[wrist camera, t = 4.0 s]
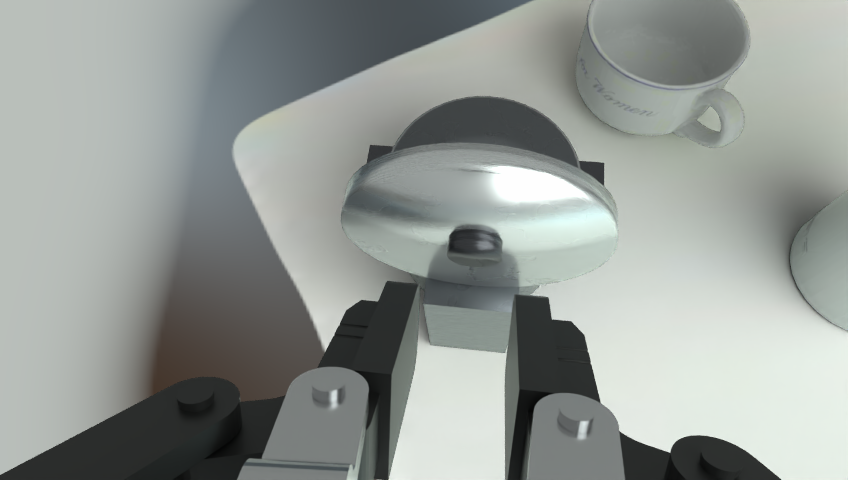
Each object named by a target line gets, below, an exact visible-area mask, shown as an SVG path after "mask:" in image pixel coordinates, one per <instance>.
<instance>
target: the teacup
mask: <svg viewBox="0 0 848 480" xmlns="http://www.w3.org/2000/svg"><path fill="white" fill-rule="evenodd" d="M749 47H750V30H749V26H748V23H747V21H746V19H745V16H744V14H743V12H742V10H741V9H740V8H739V6H738V5H737V4H736V3H735V2H734V0H592V2H591V5H590V7H589V10H588V14H587V23H586V26H585V29H584V32H583V36H582V39H581V43H580V47H579V51H578V56H577V61H576V82H577V87H578V90H579V92H580V95H581V97H582V99H583V101H584V102H585V104H586V105H587V107H588V108H589V109H590V110H591V111H592V113H593V114H595V115H596V116H597V117H598V118H599V119H600V120H602V121H603V122H605V123H606V124H608V125H610V126H611V127H613V128H616V129H618V130H620V131H623V132H626V133H630V134H635V135H643V136H655V135H663V134H668V133H671V132H673V133H675V134H676V135H677V136H679V137H687V138H689V139H691V140H692V141H694V142H696V143H698V144H701V145H703V146H707V147H710V148H717V147H723V146H726V145H728V144H729V143H731V142H733V141H734V140H736V139H737V138H738V137H739V136H740V134H741V132H742V130H743V127H744V113H743V109H742V107H741V105H740V103H739V101H738V100H737V99H736V98H735V97H734V96H733V95H732V94H731V93H729V92H727V91H725V90H723V87H724V86H725V84H726V83H727V82H728V80H729V79H730V77H731V76H732V74H733V73H734V72H735V71H736V70H737V69H738V68H739V67H740V66H741V64H742V63H743V62H744V60H745V58H746V56H747V54H748V50H749ZM709 106H711V107H713V109H714V110H715V111H716V112H717V113H718V115H719V118H720V121H721V131H720V132H716V131H714V130H711V129H709V128H707V127H705V126H704V125H702V124H701V123H699V122H698V121H697V118H699V117H700V116H701V115H702V114H703V113H704V112H705V111H706V110H707V108H708V107H709Z"/></svg>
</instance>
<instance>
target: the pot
mask: <svg viewBox="0 0 848 480" xmlns="http://www.w3.org/2000/svg"><path fill="white" fill-rule="evenodd" d="M439 143H484V144H493V145H502V146H508V147H514V148H519V149H525V150H529V151H533V152H536V153H540V154H544V155H547V156H550V157H553V158H556V159H558V160H561V161H564V162H566V163H568V164H570V165H572V166H575V167H577V168H579V169H581V170H582V171H584V172H586V173H587V174H589V175H590V176H592V177H594V178H595V179H596V180H597V181H598V182H600V183H601V184H602V185H603V186H604V163H599V162H586V161H579V160H578V157H577V155H576V152H575V150H574V148H573V146H572V144H571V143H570V141H569V140H568V138H567V137H566V135H565V134H564V133H563V131H562V130H561V129H560V128H559V127H558V126H557V125H556V124H555V123H554V122H552V121H551V120H550V119H549V118H548V117H546V116H545V115H543V114H542V113H540V112H539V111H537V110H535V109H533V108H531V107H529V106H527V105H525V104H522V103H519V102H516V101H513V100H509V99H505V98H499V97H491V96H475V97H466V98H461V99H456V100H452V101H449V102H446V103H443V104H441V105H439V106H436V107H434V108H432V109H430V110H429V111H427V112H425V113H424V114H422V115H421V116H420V117H418V118H417V119H416V120H414V121H413V122H412V123H411V124H410V125H409V126H408V127H407V128H406V129H405V130H404V132H403V133H402V134H401V136H400V137H399V138H398V140H397V142H396V143H395V145H394V147H390V146H377V145H370V148H369V154H368V159H367V163H369V162H370V161H372V160H374V159H376V158H379V157H381V156H383V155H385V154H388V153H391V152H395V151H398V150H401V149H406V148H411V147H416V146H421V145H430V144H439ZM410 274H411V276H412V278H413V279H414V280H415V282H416V283H417V284H419V285H420V287H421V288H422V289H423V291H425V293H424V301H423V306H424V312H425V317H426V323H427V328H428V334H429V339H430V345H435V346H444V347H454V348H463V349H472V350H481V351H491V352H500V353H505V351H506V348H507V345H508V340H509V332H510V323H511V315H512V306H513V299H514V294H523V295H531V294H532V293H533V292H534V291H535V290H536V289H537V288H538V287H539V286H540V285H534V286H520V287H489V286H475V285H465V284H457V283H451V282H445V281H440V280H435V279H430V278H426V277H423V276H419V275H415V274H412V273H410Z"/></svg>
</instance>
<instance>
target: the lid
mask: <svg viewBox="0 0 848 480" xmlns="http://www.w3.org/2000/svg"><path fill="white" fill-rule="evenodd" d="M341 223H342V227H343V230H344V231H345V233H346V235H347V236H348V237H349V239H350V240H351V241H352V242H353V243H354V244H355V245H356V246H357V247H359V248H360V249H361V250H362V251H364V252H365V253H367V254H368V255H370V256H372V257H373V258H375V259H377V260H379V261H381V262H383V263H385V264H387V265H390V266H392V267H395V268H397V269H400V270H403V271H406V272H409V273H412V274H415V275H419V276H423V277H426V278H430V279H435V280H440V281H445V282H451V283H457V284H465V285H475V286H489V287H520V286H534V285H543V284H549V283H555V282H560V281H564V280H568V279H572V278H575V277H578V276H581V275H584V274H586V273H588V272H591V271H593V270H594V269H596V268H598V267H600V266H601V265H603V264H604V263H605V262H606V261H607V260H609V258H610V257H611V256H612V255H613V254H614V252H615V249H616V247H617V242H618V211H617V207H616V203H615V201H614V199H613V197H612V195H611V194H610V193H609V192H608V190H607V189H606V188H605V187H604V186H603V185H602V184H601V183H600V182H598V181H597V180H596V179H595V178H594V177H592V176H590V175H589V174H587V173H586V172H584V171H582V170H581V169H579V168H577V167H575V166H572V165H570V164H568V163H566V162H564V161H561V160H558V159H556V158H553V157H550V156H547V155H544V154H540V153H536V152H533V151H529V150H525V149H519V148H514V147H508V146H502V145H493V144H484V143H439V144H430V145H421V146H416V147H411V148H406V149H401V150H398V151H395V152H391V153H388V154H385V155H383V156H381V157H379V158H376V159H374V160H372V161H370V162H369V163H367V164H366V165H364V166H362V167H361V168H360V169H359V170H358V171H357V172H356V173H355V174H354V175H353V176H352V178H351V179H350V181H349V183H348V185H347V188H346V192H345V198H344V203H343V208H342V213H341Z"/></svg>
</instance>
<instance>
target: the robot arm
mask: <svg viewBox="0 0 848 480" xmlns="http://www.w3.org/2000/svg"><path fill="white" fill-rule="evenodd" d="M790 263H791V269H792V274H793V277H794V279H795V282H796V284H797V287H798V288H799V290H800V291H801V293H802V295H803V296H804V298H805V299H806V300H807V302H808V303H809V304H810V305H811V306H812V307H813V308H814V309H815V310H816V311H817V312H818V313H819V314H821V315H822V316H823V317H824V318H826V319H827V320H828V321H830V322H831V323H833V324H835V325H837V326H839V327H841V328H843V329H844V330H847V331H848V190H847V191H846V192H844V193H843V194H842V195H841V196H839V197H838V198H837V199H835V200H834V201H833V202H832V203H830V204H829V205H827V206H825V207H824V208H823V209H822V210H820V211H819V212H818V213H817V214H816V215H815V216H814V217H813V218H812V219H810V220H809V221H808V222H807V223H806V224H804V225H803V226H802V227H801V228H800V230H799V231H798V233H797V234H796V236H795V238H794V241H793V243H792V246H791V254H790ZM419 303H420V285H419V284H412V283H402V282H392V281H387V282H386V284H385V287H384V289H383V292H382V294H381V296H380V299H379V301H378V302H376V301H366V300H361V301H359V302H358V303H356V304H355V305H353V306H352V307H351V308H349V309H348V310H346V312H345V314H344V316H343V318H342V320H341V322H340V326H338V328H337V330H336V332H335V335H334V337H333V338H332V340H331V342H330V344H329V346H328V348H327V350H326V352H325V354H324V356H323V358H322V360H321V362H320V364H319V366H318V368H316V369H313V370H310V371H307V372H305V373H303V374H301V375H299V376H298V377H297V378H296V379H294V380H293V382H292V383H291V384H290V386H289V388H288V391H287V394H286V396H282V397H278V398H273V399H267V400H256V401H245V402H240V393H239V391H238V388H237V387H236V386H235V385H234V384H233V383H231V382H229V381H227V380H224V379H221V378H216V377H198V378H192V379H188V380H184V381H181V382H178V383H176V384H174V385H172V386H170V387H168V388H166V389H164V390H162V391H160V392H158V393H156V394H154V395H153V396H151V397H149V398H147V399H145V400H143V401H141V402H139V403H137V404H135V405H133V406H131V407H130V408H128V409H126V410H124V411H122V412H120V413H118V414H116V415H114V416H112V417H110V418H108V419H107V420H105V421H103V422H101V423H99V424H97V425H95V426H94V427H91V428H89V429H87V430H85V431H84V432H82V433H80V434H78V435H76V436H74V437H72V438H70V439H68V440H66V441H65V442H63V443H61V444H59V445H57V446H55V447H53V448H51V449H49V450H47V451H45V452H43V453H41V454H40V455H38V456H36V457H34V458H32V459H30V460H28V461H26V462H24V463H22V464H20V465H18V466H17V467H15V468H13V469H11V470H9V471H7V472H5V473H3V474H1V475H0V480H374V479H380V480H388V479H389V475H390V471H391V467H392V462H393V458H394V454H395V450H396V446H397V442H398V437H399V433H400V429H401V425H402V421H403V416H404V412H405V408H406V404H407V400H408V395H409V391H410V387H411V383H412V379H413V375H414V370H415V363H416V355H417V342H418V322H419ZM587 351H588V349H587V345H586V341H585V337H584V334H583V333H582V332H581V331H580V330H579V329H578V328H577V327H576V326H575V325H574V324H573V323H572V322H571V321H561V320H552V318H551V311H550V305H549V299H548V297H544V296H533V295H523V294H514V299H513V306H512V315H511V323H510V332H509V340H508V349H507V358H506V369H505V480H781V479H780V478H779V477H778V476H776V475H775V474H774V473H773V472H772V471H770V470H769V469H768V468H767V467H765V466H764V465H763V464H762V463H760V462H759V461H758V460H757V459H756V458H754V457H753V456H752V455H750V454H749V453H748V452H746V451H745V450H743V449H741V448H740V447H738V446H736V445H734V444H732V443H729V442H727V441H724V440H721V439H718V438H714V437H709V436H700V435H697V436H687V437H684V438H681V439H679V440H678V441H676V442H675V443H674V445H673V446H672V449H671V452H670V453H669V452H666V451H663V450H660V449H657V448H654V447H651V446H648V445H645V444H642V443H640V442H637V441H635V440H633V439H631V438H629V437H627V436H626V435H624V434H623V433H621V432H620V431H619V426H618V422H617V420H616V418H615V416H614V415H613V413H612V412H611V411H610V410H609V409H608V408H607V407H605V406H604V405H602V404H601V403H600V398H599V394H598V390H597V386H596V382H595V378H594V374H593V370H592V365H591V364H590V362H591V361H590V357H589V353H588V352H587Z"/></svg>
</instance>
